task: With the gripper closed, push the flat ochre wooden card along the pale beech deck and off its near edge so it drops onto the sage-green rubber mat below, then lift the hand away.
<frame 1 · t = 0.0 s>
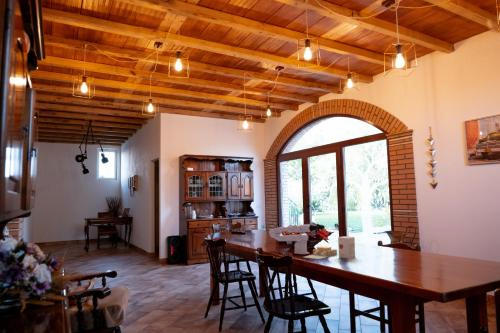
hand: (321, 227, 275), 22 cm above the table, tool horizontal, fingers open, 7 cm apart
card: (324, 249, 277), point 4 cm above the table, touching deck
supplement box: (347, 257, 264), on the table
deck: (325, 254, 278), on the table
mat: (315, 257, 268), on the table
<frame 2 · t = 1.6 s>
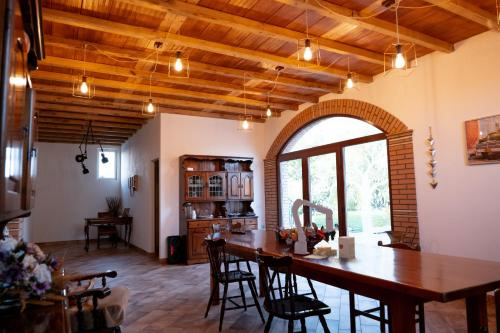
hand: (330, 240, 284), 10 cm above the table, tool pointing down, fingers open, 7 cm apart
nothing on the table moved.
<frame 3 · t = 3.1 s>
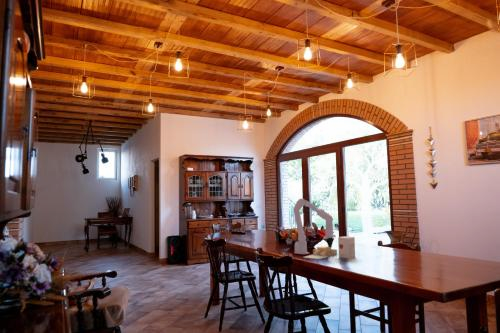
hand: (330, 247, 284), 5 cm above the table, tool pointing down, fingers closed
nothing on the table moved.
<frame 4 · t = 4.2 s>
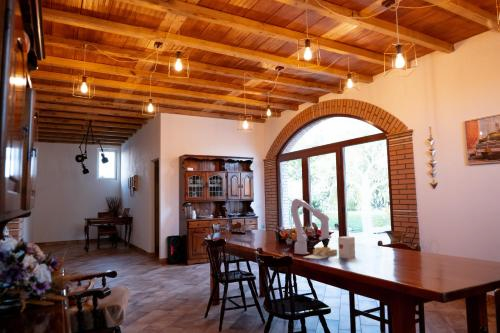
hand: (325, 248, 279), 5 cm above the table, tool pointing down, fingers closed
card: (322, 250, 276), point 4 cm above the table, touching deck, gripper
everything else where it was.
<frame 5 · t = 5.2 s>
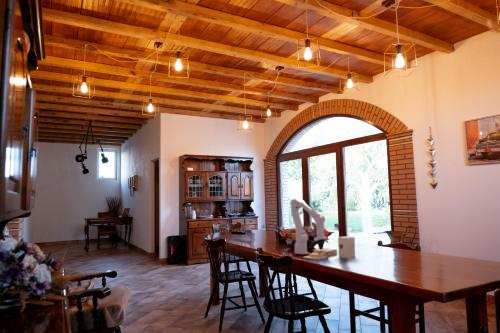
hand: (320, 249, 274), 5 cm above the table, tool pointing down, fingers closed
card: (316, 253, 269), point 2 cm above the table, tilted 180°, touching mat
everything else where it was.
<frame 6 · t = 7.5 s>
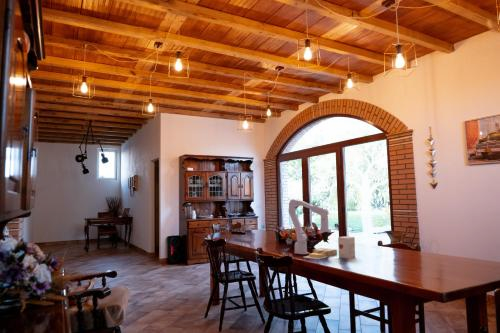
hand: (325, 241, 279), 10 cm above the table, tool pointing down, fingers closed
nothing on the table moved.
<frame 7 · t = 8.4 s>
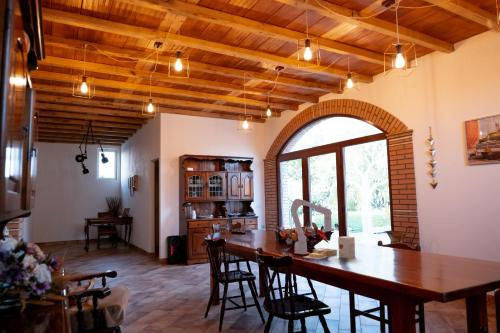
hand: (328, 240, 286), 10 cm above the table, tool pointing down, fingers closed
nothing on the table moved.
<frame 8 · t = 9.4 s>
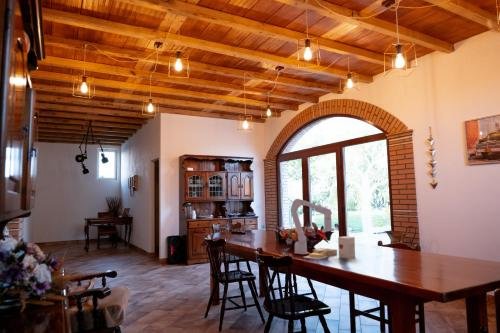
hand: (328, 240, 286), 10 cm above the table, tool pointing down, fingers closed
nothing on the table moved.
at the end: card inside the target area on the mat (0.7 cm from its centre), point 2.3 cm above the mat's base; card point 2.3 cm above the table; card touching mat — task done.
